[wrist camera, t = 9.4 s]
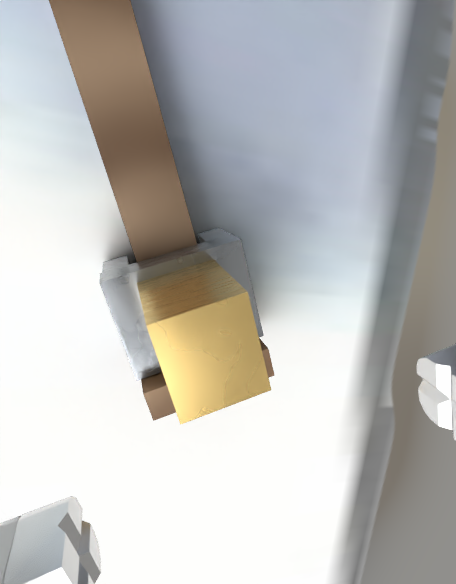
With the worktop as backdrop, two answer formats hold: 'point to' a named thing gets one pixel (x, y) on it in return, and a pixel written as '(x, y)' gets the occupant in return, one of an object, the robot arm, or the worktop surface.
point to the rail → (129, 139)
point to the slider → (191, 322)
